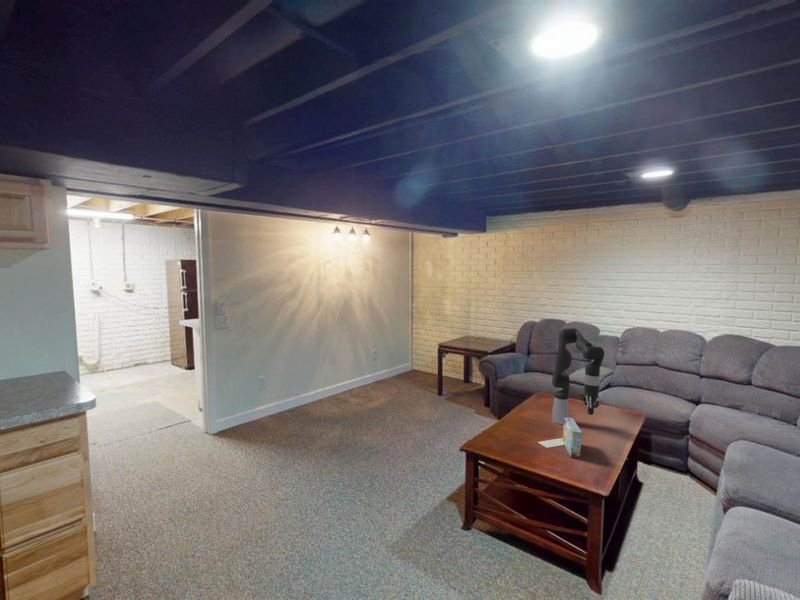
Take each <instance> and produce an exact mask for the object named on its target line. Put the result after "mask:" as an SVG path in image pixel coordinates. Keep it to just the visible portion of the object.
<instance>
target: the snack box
mask: <svg viewBox="0 0 800 600" xmlns="http://www.w3.org/2000/svg"><path fill="white" fill-rule="evenodd" d="M562 438H563V443H564V445H563V446H565V449H566V450H567V452H568V454H569V456H570V457H571V458H575V459H580V458H581V450H582V441H583V440H582V438H583V431H582V430H581V429H580V427H579V426H578V424H577V423H576V421H575V420H574V418H573V417H568V418H564V424H563V431H562ZM570 457H569V458H570Z"/></svg>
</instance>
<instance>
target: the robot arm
mask: <svg viewBox="0 0 800 600" xmlns="http://www.w3.org/2000/svg"><path fill="white" fill-rule="evenodd" d="M557 344H558V346H557V351H556V358H555V364H554V365H555V366H554V370H553V374H552V378H551V384H552V387H554V388H557V389H558V388H559V389H560V390H558V391H555V392H554V393H553V406H552V411H551V421H552V422H553V423H555V424H557V425H564V418H569V394H570V391H569V390H570V382H571V380H570V375H568V374H564V372H565V371H566V370H568V369H569V368H570V367H571V365H572V360H573V357H572V353H571V352H570V351H569V349H568V348H567V346H566V345H569V344H575V347H576V349H577V350H578V351H580V353H581V355H582V357H583V358H584V359H585V360H589V361H591V360H592V361H593V362H590V363H586V365H585V368H584V371H585V372H584V379H583V380H584V382H583V386H584V387H583V390H584V393H583V394H581V395H580V396H581V399H582V402H583V403H584V405H585V406H586V407H587V414H588V415H589V416H592V415H593V414H594V412H595V411H594V410H595V409H597V408H598V407H599V406H600V405H601V404H602V403H603V400H600V396H599V394H600V387H601V385H600V384H601V378H600V373H601V372H600V371H601V366H602V362H603V360H604V358H605V350H604V348H602V347H601V346H593V344H592V343H591V342H589V341H588V340H586V339H585V337H584V336H583V335H582V334H581V332H580V331H579V330H578V329H577V328H575V327H572V328H571V327H570V328H562V329H561V330H560V331H559V334H558V342H557Z"/></svg>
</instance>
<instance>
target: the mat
mask: <svg viewBox="0 0 800 600" xmlns="http://www.w3.org/2000/svg"><path fill="white" fill-rule="evenodd" d="M537 443H538V444H539V445H541V446H543V447H544V448H546V449H552V448H556V447H563V446H565V445H564V443H563V437H561V438H555V439H554V438H553V439H547V440H541V441H537Z"/></svg>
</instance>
